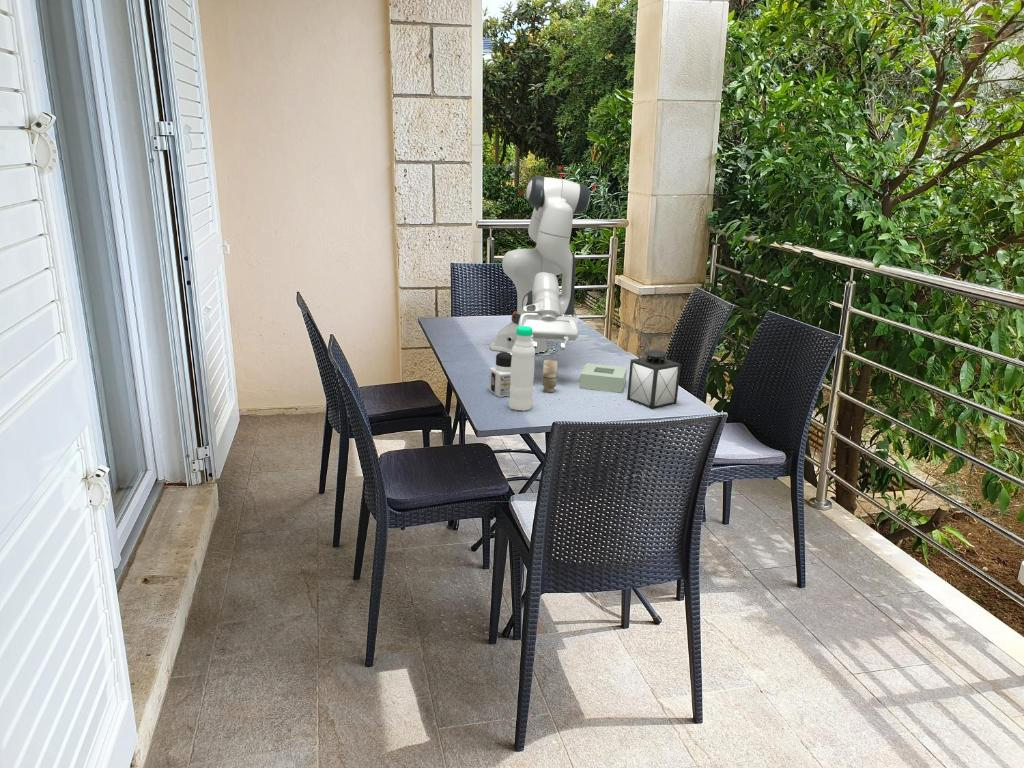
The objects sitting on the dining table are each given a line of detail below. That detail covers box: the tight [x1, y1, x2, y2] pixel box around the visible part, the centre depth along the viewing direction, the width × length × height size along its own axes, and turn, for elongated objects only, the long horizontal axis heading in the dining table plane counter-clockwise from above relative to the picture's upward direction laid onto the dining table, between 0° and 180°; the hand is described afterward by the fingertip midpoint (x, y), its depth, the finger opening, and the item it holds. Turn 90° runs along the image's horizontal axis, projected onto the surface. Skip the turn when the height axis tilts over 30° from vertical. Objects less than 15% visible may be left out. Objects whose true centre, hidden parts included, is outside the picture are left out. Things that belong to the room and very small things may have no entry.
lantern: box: [626, 314, 682, 410], centre depth 250 cm, size 11×11×28 cm
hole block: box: [579, 362, 628, 394], centre depth 269 cm, size 14×14×5 cm
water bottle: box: [508, 326, 536, 411], centre depth 238 cm, size 7×7×25 cm
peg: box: [541, 359, 558, 393], centre depth 258 cm, size 4×4×10 cm
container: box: [488, 351, 512, 398], centre depth 254 cm, size 8×8×13 cm
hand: (548, 348), depth 261 cm, fingers open, 8 cm apart
